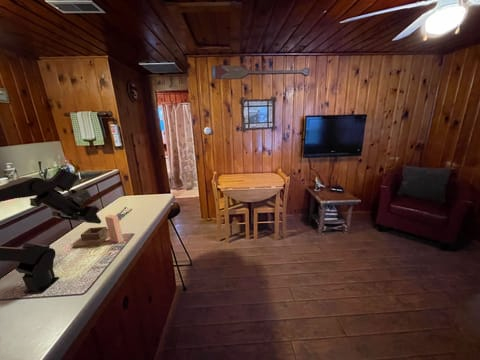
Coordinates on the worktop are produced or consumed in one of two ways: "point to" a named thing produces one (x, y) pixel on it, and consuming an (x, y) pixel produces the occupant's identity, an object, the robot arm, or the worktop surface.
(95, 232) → the square socket base
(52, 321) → the worktop surface
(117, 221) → the clay rectangular block
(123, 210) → the driftwood
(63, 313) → the worktop surface
